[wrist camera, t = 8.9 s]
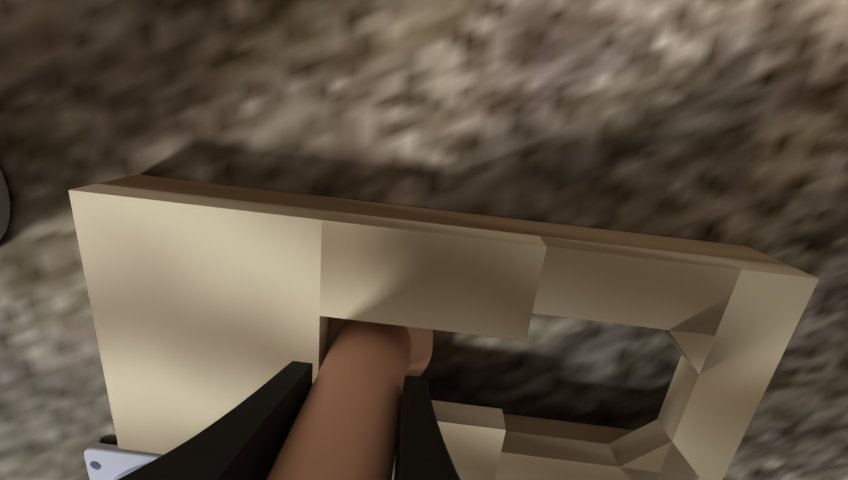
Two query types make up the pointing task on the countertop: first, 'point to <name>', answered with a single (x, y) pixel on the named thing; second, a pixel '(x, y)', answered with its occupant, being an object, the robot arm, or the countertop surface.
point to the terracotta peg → (354, 403)
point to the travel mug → (4, 205)
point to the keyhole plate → (418, 315)
